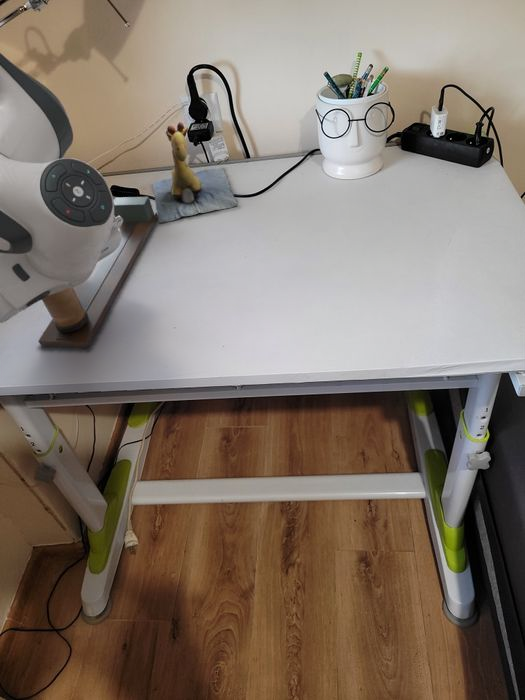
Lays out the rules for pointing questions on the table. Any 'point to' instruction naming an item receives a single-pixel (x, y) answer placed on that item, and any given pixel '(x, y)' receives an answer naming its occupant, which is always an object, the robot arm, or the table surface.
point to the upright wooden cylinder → (66, 310)
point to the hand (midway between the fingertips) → (51, 286)
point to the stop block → (133, 209)
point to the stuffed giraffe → (190, 185)
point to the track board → (102, 286)
